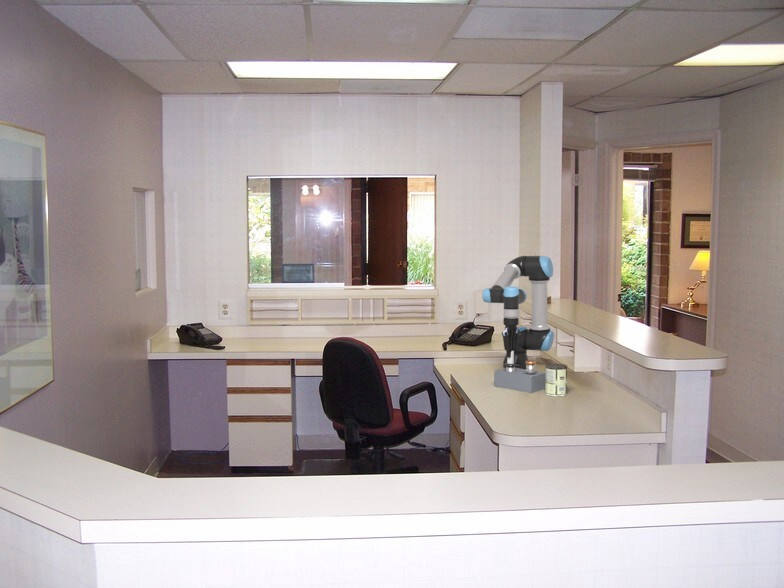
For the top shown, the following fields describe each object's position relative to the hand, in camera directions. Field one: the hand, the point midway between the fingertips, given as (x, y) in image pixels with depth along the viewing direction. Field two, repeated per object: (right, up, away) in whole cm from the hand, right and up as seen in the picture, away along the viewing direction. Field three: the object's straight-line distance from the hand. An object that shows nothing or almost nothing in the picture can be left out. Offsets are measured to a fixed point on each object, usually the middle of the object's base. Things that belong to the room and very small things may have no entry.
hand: (510, 363), depth 362 cm
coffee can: (+19, -13, -18) cm, 29 cm away
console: (+4, -12, -3) cm, 13 cm away
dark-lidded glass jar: (0, -9, +1) cm, 9 cm away
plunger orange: (+9, -7, -8) cm, 13 cm away
